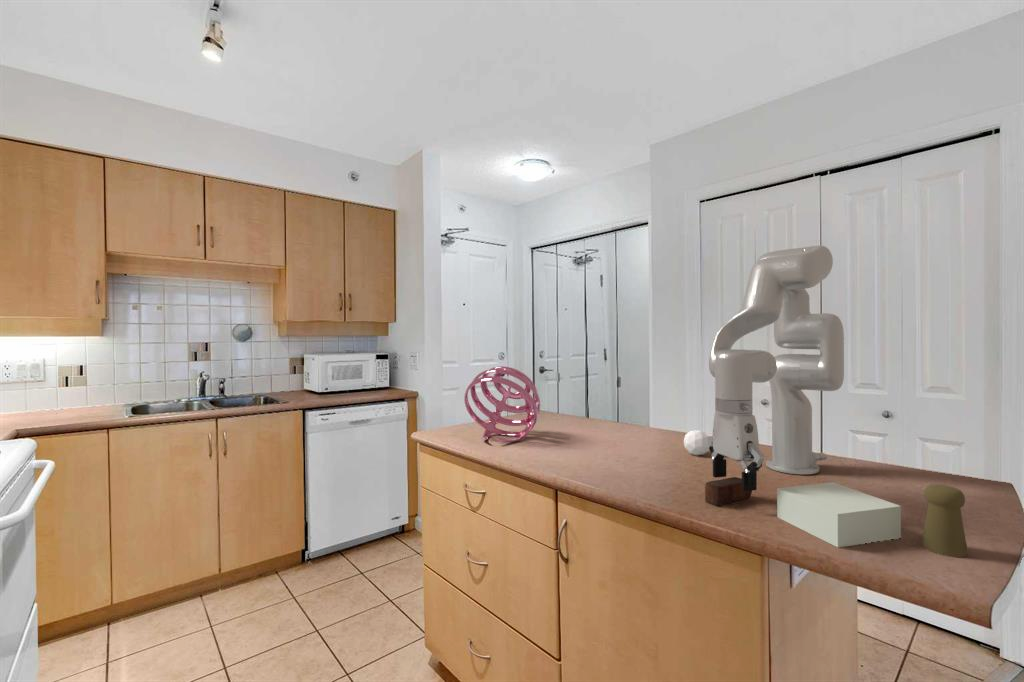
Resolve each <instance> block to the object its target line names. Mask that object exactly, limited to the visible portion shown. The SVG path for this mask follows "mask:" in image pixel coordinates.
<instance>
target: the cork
mask: <svg viewBox="0 0 1024 682" xmlns="http://www.w3.org/2000/svg"><path fill="white" fill-rule="evenodd" d="M923 493H924V495H923V496H924V498H925V500H926V502H927V503H928V505H927V509H926V510H927V511H926V515H925V522H924V527H923V533H922V537H921V543H920V545H921V546H922V548H924V549H925V550H927V549H928V551H929V550H930V552H931V553H934V552H935V553H934V554H938V553H939V554H938V555H941V554H942V555H941V556H945V555H947V556H946V557H950V556H951V558H966V556H967V557H968V556H969V552H968V545H967V539H966V534H965V528H964V522H963V516H962V510H961V508H963V507H964V506H965V503H966V497H965V495H964V493H963V491H961V490H960V489H958V488H956V487H954V486H950V485H946V484H938V483H937V484H930V485H927V486H926V487H925V489H924V492H923Z"/></svg>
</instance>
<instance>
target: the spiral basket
mask: <svg viewBox="0 0 1024 682" xmlns="http://www.w3.org/2000/svg"><path fill="white" fill-rule="evenodd" d="M493 373H494V375H493V376H492V375H490V374H493ZM503 374H505V375H508V376H511V377H513V378H516V379H518V380H519V381H520V382H522V383H523V384H525V385H524V386H525V387H523V386H521V385H519V384H518V383H517V382H515V381H512V380H510V379H508V378H505V377H502V375H503ZM489 382H490V383H493V385H494V387H495V389H496V391H498V392H499V393H500V395H502V398H501V400H498V399H497V398H496V397H495V396H494V395H493V394H492V392H491V391H490V390H489V387H488V383H489ZM477 384H480V389H481V392H482V393H483V396H484V397H485V399H486V400H488V402H490V403H491V404H492V405H493V406H494V407H495V410H494V411H493V412H492V411H491V410H489V409H488V408H487V407H486V406H485V405H484V404H483V403H482V401H481V400H480V399H479V397H478V395H477V391H476V385H477ZM503 385H505V386H507V387H508V388H507V389H506V387H504V386H503ZM511 389H513V390H514V391H516V392H513V391H511ZM469 391H470V397H471V399H472V401H473V403H474V404H475V406H476V408H477V409H478V410H479V411H480V412H481V413H482V414H483V415H485V416H486V417H487V418H488V419H489V421H488V422H486V421H484V420H483V419H481V418H480V417H479V416H478V415H477V413H475V411H474V410H473V409H472V407H471V404H470V402H469V398H468V397H469V395H468V394H469ZM464 392H465V393H464V405H465V408H466V411H467V413H468V414H469V416H470V417H471V418H472V419H473V421H474V422H475V423H477V424H478V425H479V426H481V427H482V428H483V429H484V432H483V435H482V440H483V441H484V442H487V441H488V440H487V437H489V436H491V434H496V435H498V434H505V435H513V436H512V437H517V438H514V439H506V438H501V437H498V436H494V439H495V440H497V441H498V442H499V441H500V442H502V443H506V444H507V443H508V442H512V443H515V442H514V441H516V442H518V441H520V440H522V439H523V438H525V436H526V435H528V433H529V432H531V431H532V429H534V427H535V426H536V423H537V421H538V418H539V413H540V409H541V400H540V395H539V393H538V389H537V388H536V385H535V384H534V381H533V380H532V379H531V378H530V377H529V376H528V375H527V374H525V373H524V372H522V371H520V370H519V369H516V368H513V367H510V366H495V367H491V368H489V369H486V370H483V371H482V372H480V373H478V374H477V375H476V376H475V377H474V378H473V380H472V381H471V383H469V384H468V386H467V388H466V390H465V391H464ZM531 392H532V393H533V397H532V395H531V394H530V393H531ZM508 399H510V400H511V399H512V400H522V399H523V400H524V403H525V404H524V405H520V406H517V405H516V406H515V405H509V404H508V403H507V400H508ZM502 412H508V413H511V414H524V413H526V414H527V416H526V418H523V419H509V418H505V417H502V416H501V415H502V414H501V413H502ZM497 424H501V425H505V426H510V427H521V426H525V428H524V429H522V430H517V431H512V430H510V431H509V430H503V429H500V428H497V427H496V425H497ZM489 438H490V437H489ZM486 440H487V441H486Z"/></svg>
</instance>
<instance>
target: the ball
mask: <svg viewBox="0 0 1024 682" xmlns="http://www.w3.org/2000/svg"><path fill="white" fill-rule="evenodd" d="M709 437H710V436H708V435H707V433H706V432H705V431H702V430H699V429H694V430H690V431H688V432H687V433H685V436H684V439H683V446H684V448H685V450H686V451H687V452H688V453H689V454H691V455H694V456H701V455H705V454H706V453H708V452H710V450H709V447H710V446H709V444H708V441H707V438H709Z"/></svg>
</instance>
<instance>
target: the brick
mask: <svg viewBox="0 0 1024 682" xmlns="http://www.w3.org/2000/svg"><path fill="white" fill-rule="evenodd" d="M752 493H753V492H752V491H743V490H742V477H736V476H733V477H728V478H722V479H716V480H709V481H707V482H705V486H704V494H705V495H704V497H705V498H704V500H705V503H708V504H710V505H713V506H714V507H717V508H720V507H724V506H729V505H733V504H738V503H742V502H745V501H749V500H750V499H751V496H752Z"/></svg>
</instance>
